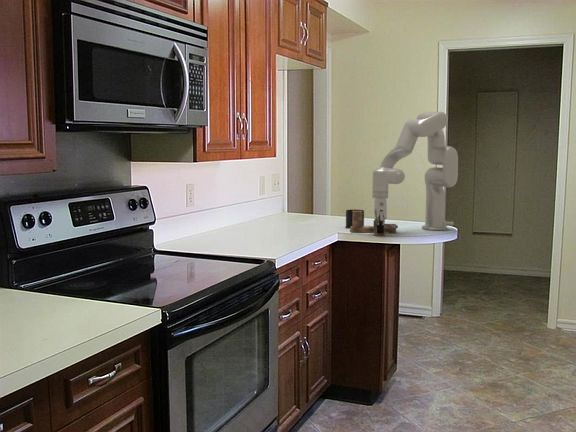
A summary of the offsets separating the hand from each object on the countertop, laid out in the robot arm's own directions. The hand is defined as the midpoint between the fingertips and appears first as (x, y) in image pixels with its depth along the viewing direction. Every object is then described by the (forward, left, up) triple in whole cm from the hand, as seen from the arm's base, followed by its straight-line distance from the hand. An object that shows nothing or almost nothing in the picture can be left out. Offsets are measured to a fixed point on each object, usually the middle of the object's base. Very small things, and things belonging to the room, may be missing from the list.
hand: (379, 232), depth 302 cm
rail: (+2, -9, -1) cm, 9 cm away
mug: (+9, -25, -2) cm, 26 cm away
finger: (0, 0, -1) cm, 1 cm away
